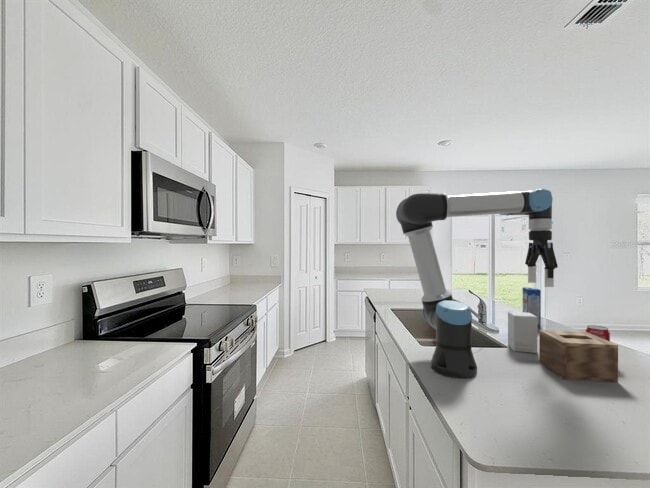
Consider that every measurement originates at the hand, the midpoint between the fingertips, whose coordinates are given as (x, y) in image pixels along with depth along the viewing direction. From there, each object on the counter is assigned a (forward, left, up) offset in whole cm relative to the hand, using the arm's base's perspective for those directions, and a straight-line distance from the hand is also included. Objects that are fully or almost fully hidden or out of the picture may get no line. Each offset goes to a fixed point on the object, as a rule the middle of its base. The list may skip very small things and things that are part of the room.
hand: (540, 284), depth 126 cm
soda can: (+20, 0, -29) cm, 35 cm away
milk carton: (+21, +57, -29) cm, 67 cm away
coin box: (+6, -12, -29) cm, 32 cm away
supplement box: (-2, +11, -29) cm, 31 cm away
